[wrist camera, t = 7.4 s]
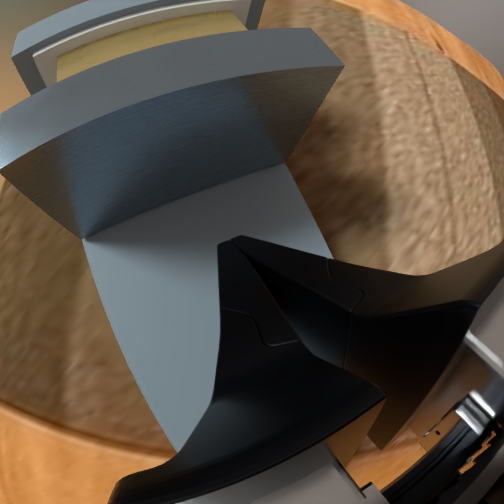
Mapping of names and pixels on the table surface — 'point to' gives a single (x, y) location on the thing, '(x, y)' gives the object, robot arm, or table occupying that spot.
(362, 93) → the table surface
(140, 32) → the pale yellow wooden block
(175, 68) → the sliding jaw
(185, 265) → the vise
